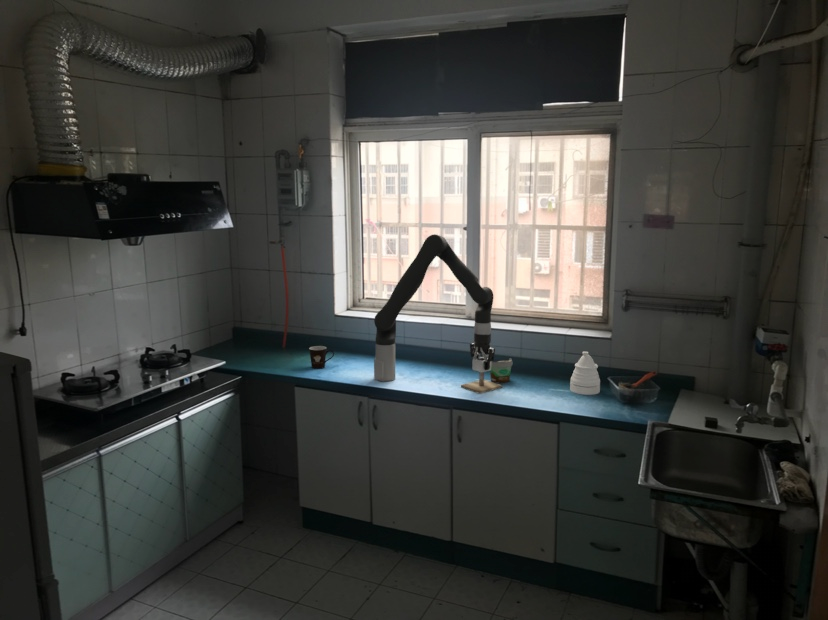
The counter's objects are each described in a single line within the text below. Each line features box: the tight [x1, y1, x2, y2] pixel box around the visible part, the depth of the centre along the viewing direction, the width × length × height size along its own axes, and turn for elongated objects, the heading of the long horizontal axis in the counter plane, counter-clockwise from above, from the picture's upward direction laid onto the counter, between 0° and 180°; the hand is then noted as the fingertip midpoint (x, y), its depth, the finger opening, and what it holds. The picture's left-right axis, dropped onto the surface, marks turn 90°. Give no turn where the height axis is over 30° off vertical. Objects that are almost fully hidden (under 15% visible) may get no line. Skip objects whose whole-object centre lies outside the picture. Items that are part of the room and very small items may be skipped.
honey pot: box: [569, 351, 601, 396], centre depth 287 cm, size 13×13×18 cm
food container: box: [489, 357, 514, 384], centre depth 301 cm, size 12×6×10 cm, turn 117°
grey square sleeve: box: [471, 356, 491, 373], centre depth 291 cm, size 6×6×5 cm
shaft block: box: [460, 372, 503, 394], centre depth 292 cm, size 14×12×8 cm
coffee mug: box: [308, 345, 335, 370], centre depth 324 cm, size 12×9×10 cm
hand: (481, 368), depth 292 cm, fingers closed on grey square sleeve, 6 cm apart
